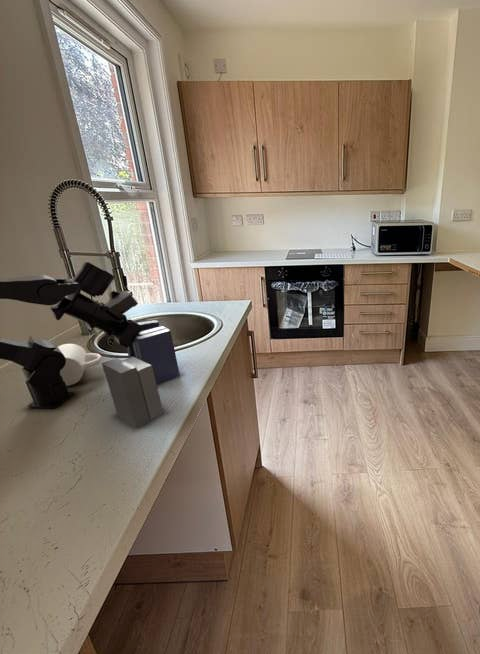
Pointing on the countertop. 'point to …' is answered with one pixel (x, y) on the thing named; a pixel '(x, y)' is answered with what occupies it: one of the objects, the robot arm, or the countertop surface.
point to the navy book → (145, 326)
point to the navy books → (157, 352)
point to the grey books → (133, 390)
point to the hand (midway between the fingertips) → (146, 339)
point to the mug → (76, 362)
